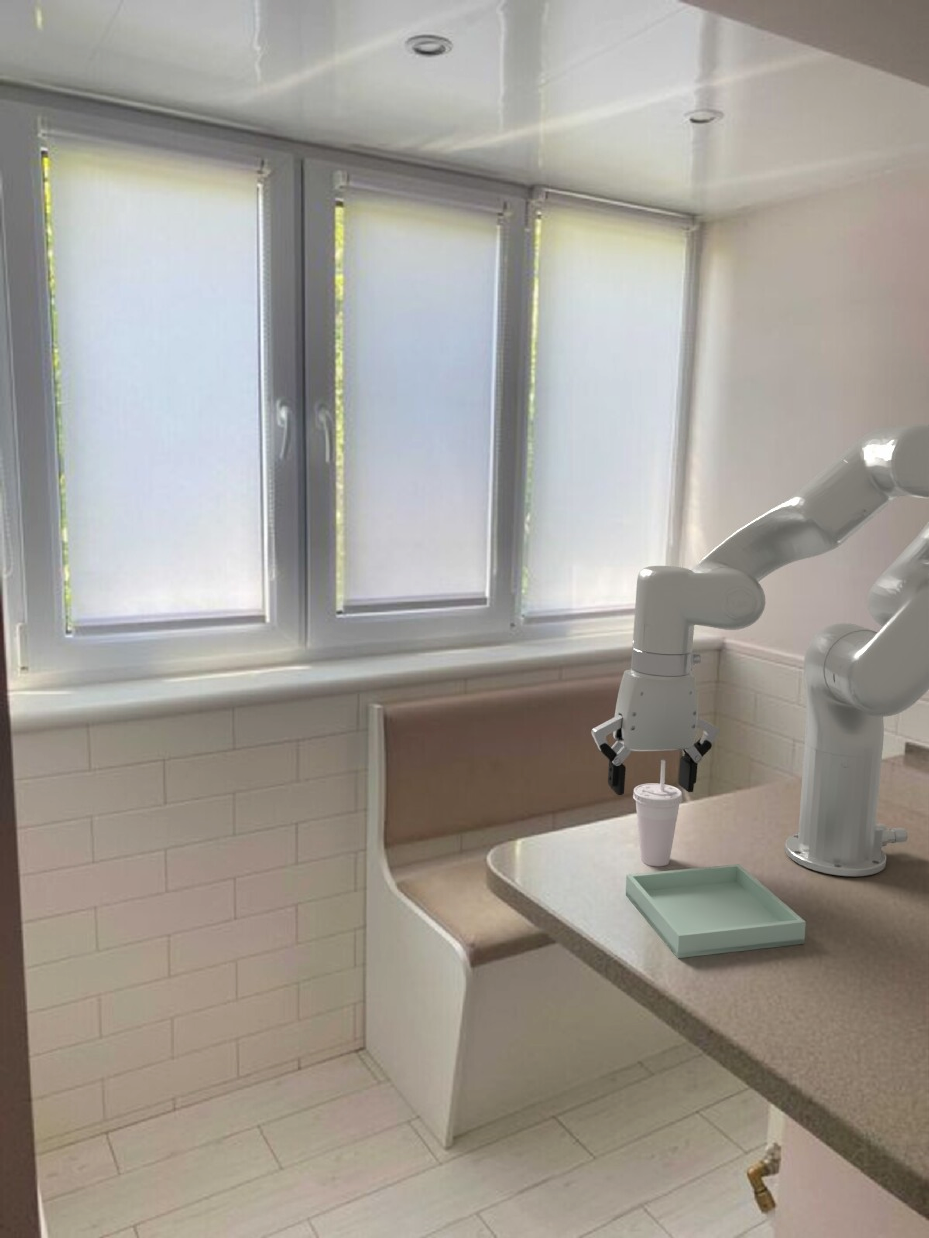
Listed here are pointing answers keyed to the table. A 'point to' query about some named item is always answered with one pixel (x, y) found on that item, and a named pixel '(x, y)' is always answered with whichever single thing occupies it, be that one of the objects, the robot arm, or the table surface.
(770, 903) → the tray
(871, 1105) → the table surface
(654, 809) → the smoothie
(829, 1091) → the table surface
